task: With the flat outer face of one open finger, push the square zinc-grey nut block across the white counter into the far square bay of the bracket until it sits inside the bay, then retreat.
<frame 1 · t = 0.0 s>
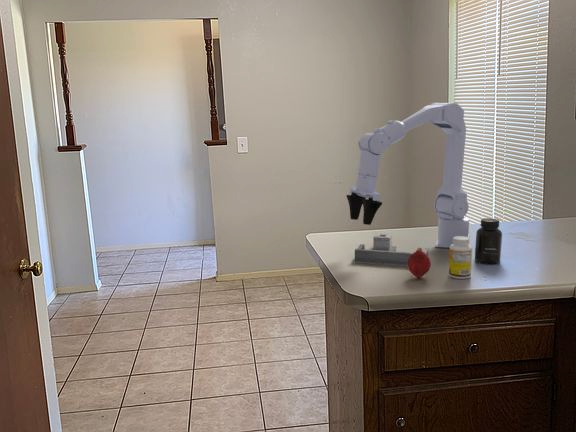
hand: (360, 221, 163), 11 cm above the countertop, tool pointing down, fingers open, 7 cm apart
bracket: (391, 260, 161), on the countertop
onion: (418, 278, 144), on the countertop
nut block: (382, 248, 175), on the countertop
supplement bottle: (487, 262, 158), on the countertop
supplement bottle 2: (459, 277, 145), on the countertop
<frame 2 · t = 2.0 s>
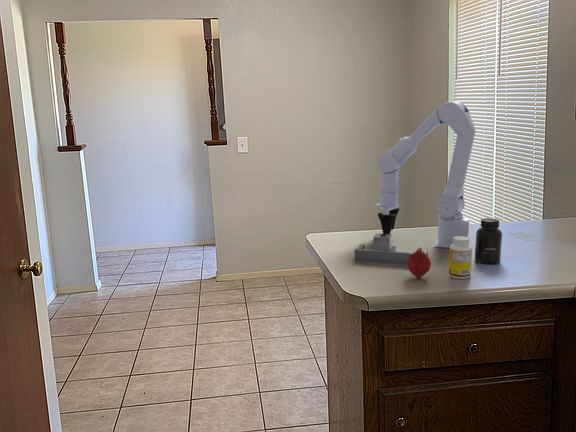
hand: (388, 232, 185), 2 cm above the countertop, tool pointing down, fingers open, 7 cm apart
nothing on the countertop moved.
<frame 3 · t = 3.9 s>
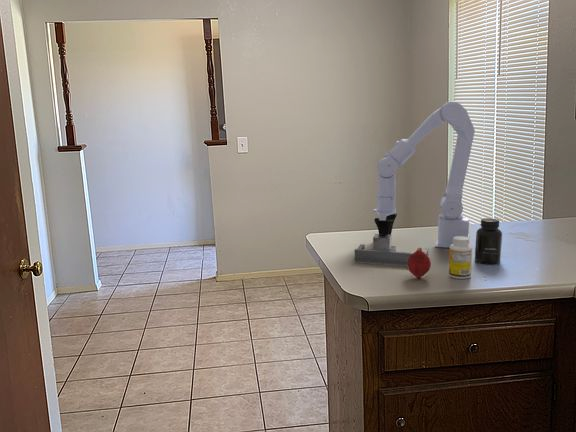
hand: (385, 238, 180), 2 cm above the countertop, tool pointing down, fingers open, 6 cm apart
nut block: (382, 248, 174), on the countertop, touching gripper
everything else where it was.
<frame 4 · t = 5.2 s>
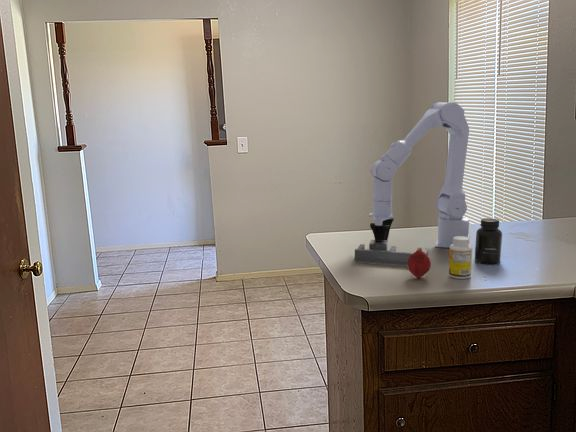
hand: (381, 243, 173), 2 cm above the countertop, tool pointing down, fingers open, 7 cm apart
nut block: (378, 255, 166), on the countertop, touching gripper
everything else where it was.
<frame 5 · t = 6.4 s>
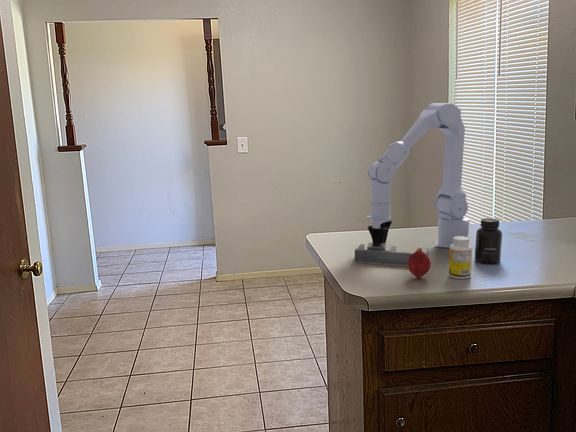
hand: (379, 246, 169), 2 cm above the countertop, tool pointing down, fingers open, 7 cm apart
nut block: (376, 258, 163), on the countertop, touching gripper
everything else where it was.
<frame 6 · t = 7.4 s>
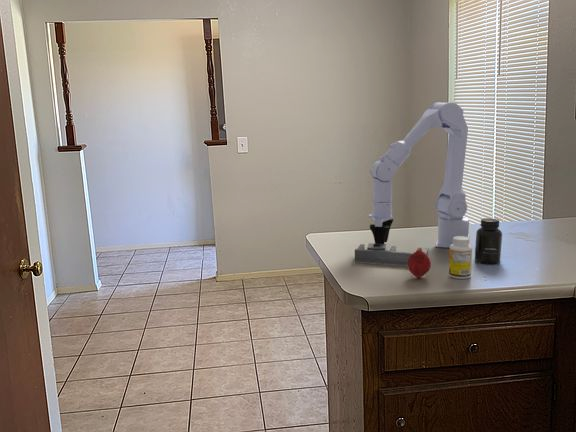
hand: (381, 244, 172), 2 cm above the countertop, tool pointing down, fingers open, 7 cm apart
nut block: (376, 259, 163), on the countertop
everything else where it was.
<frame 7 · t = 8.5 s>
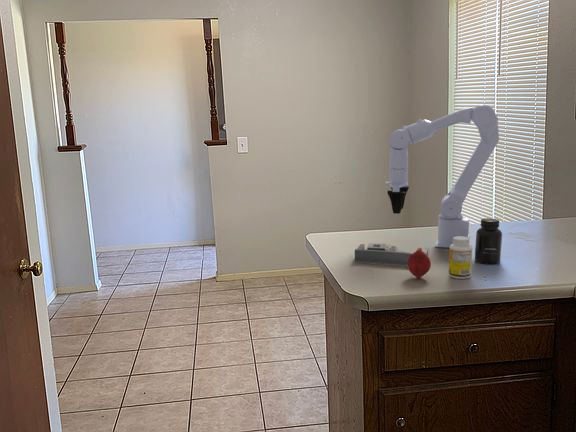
hand: (398, 211, 178), 10 cm above the countertop, tool pointing down, fingers open, 7 cm apart
nothing on the countertop moved.
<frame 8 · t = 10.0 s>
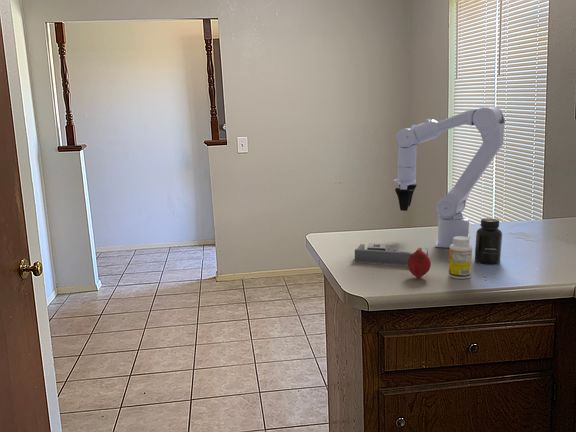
hand: (405, 208, 182), 10 cm above the countertop, tool pointing down, fingers open, 7 cm apart
nothing on the countertop moved.
at the end: nut block inside the target area (0.2 cm from its centre), on the countertop; nut block moved 12.7 cm from its start; nut block tilted 0° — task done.
